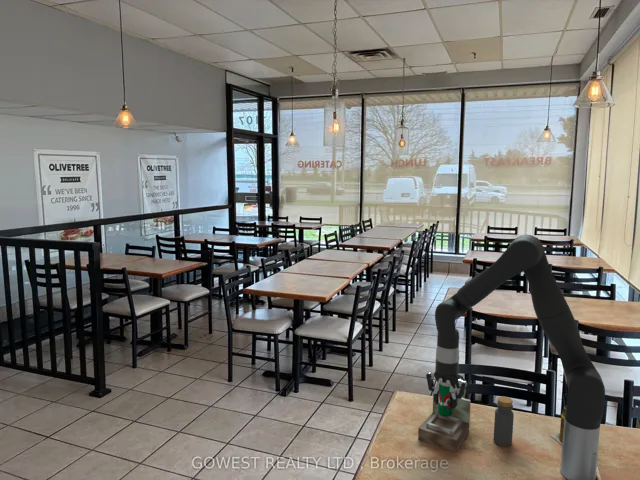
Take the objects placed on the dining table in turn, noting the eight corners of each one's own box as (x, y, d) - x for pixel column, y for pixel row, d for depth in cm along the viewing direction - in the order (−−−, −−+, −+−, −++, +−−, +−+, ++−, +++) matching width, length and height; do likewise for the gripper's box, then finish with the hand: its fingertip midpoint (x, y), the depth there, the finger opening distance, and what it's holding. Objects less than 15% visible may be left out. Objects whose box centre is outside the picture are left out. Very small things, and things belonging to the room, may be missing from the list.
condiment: (568, 449, 154) (571, 415, 153) (549, 435, 162) (551, 403, 161) (586, 445, 157) (589, 411, 155) (566, 432, 165) (569, 400, 163)
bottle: (513, 447, 156) (516, 404, 153) (494, 445, 157) (497, 402, 155) (510, 437, 161) (512, 396, 159) (492, 435, 162) (494, 394, 160)
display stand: (469, 432, 164) (470, 400, 163) (455, 451, 153) (457, 417, 151) (433, 421, 172) (434, 390, 170) (418, 439, 160) (419, 405, 159)
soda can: (455, 413, 161) (456, 379, 160) (448, 419, 158) (450, 385, 156) (441, 408, 165) (442, 375, 163) (434, 414, 161) (436, 380, 159)
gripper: (422, 357, 159) (421, 404, 162) (465, 367, 151) (462, 416, 154) (431, 350, 165) (429, 395, 168) (472, 359, 157) (469, 407, 160)
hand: (445, 405), depth 161 cm, fingers closed on soda can, 5 cm apart
